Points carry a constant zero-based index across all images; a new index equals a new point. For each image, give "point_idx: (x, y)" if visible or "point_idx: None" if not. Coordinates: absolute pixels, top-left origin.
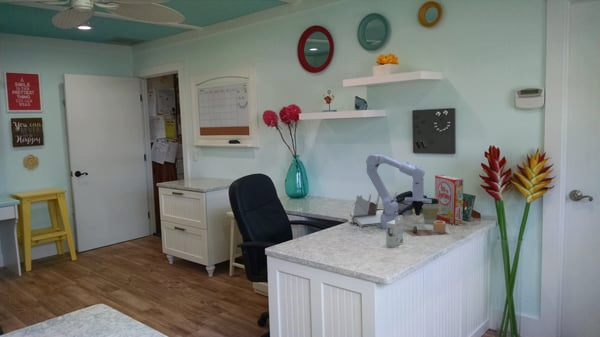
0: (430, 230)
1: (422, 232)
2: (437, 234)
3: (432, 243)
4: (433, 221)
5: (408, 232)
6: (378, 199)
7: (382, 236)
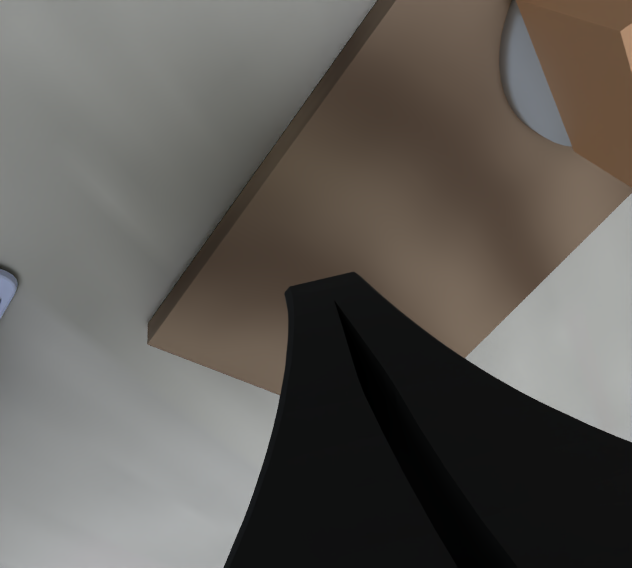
0: (457, 26)
1: (404, 234)
2: (614, 182)
3: (597, 398)
4: (621, 47)
5: (258, 361)
6: None
7: (105, 550)
